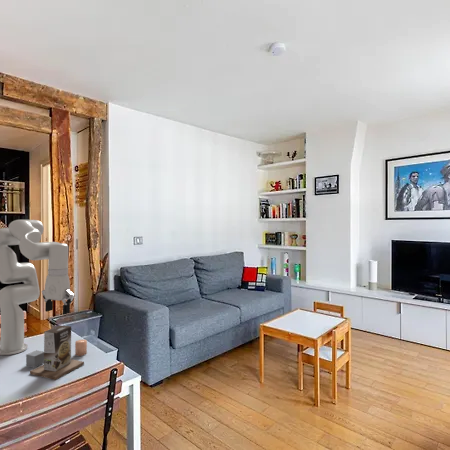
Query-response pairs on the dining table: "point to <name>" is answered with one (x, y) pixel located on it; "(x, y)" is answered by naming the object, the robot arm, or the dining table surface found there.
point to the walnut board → (58, 373)
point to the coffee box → (57, 348)
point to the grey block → (35, 358)
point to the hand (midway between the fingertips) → (57, 312)
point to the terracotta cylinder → (80, 347)
